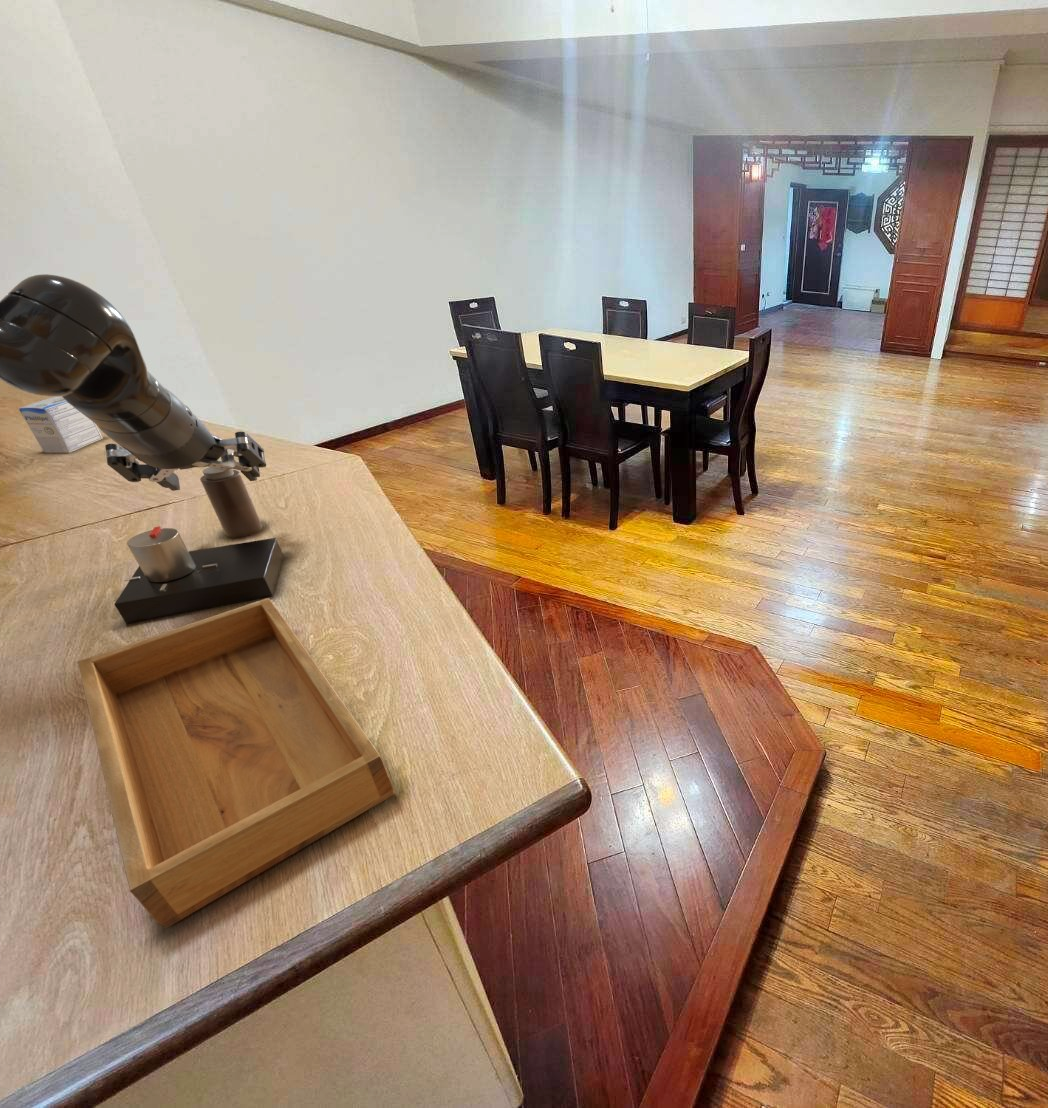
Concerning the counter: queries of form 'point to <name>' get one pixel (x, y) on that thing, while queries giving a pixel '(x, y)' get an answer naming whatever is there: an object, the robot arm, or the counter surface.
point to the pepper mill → (231, 502)
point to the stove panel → (206, 582)
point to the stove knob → (161, 554)
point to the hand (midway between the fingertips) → (215, 479)
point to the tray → (222, 755)
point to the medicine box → (59, 425)
